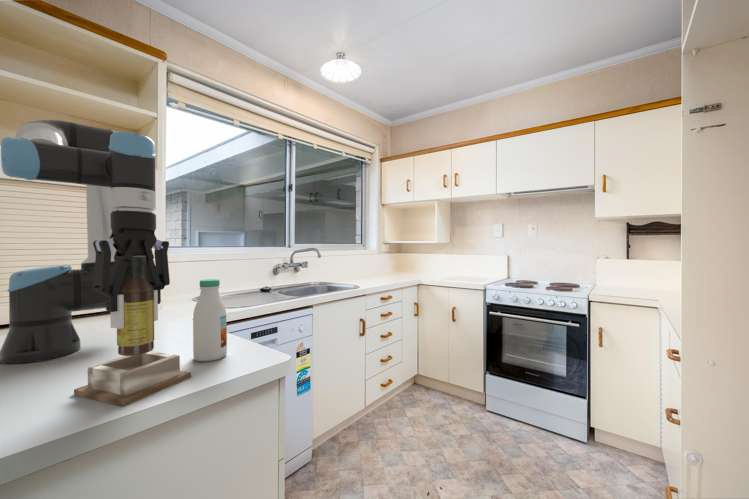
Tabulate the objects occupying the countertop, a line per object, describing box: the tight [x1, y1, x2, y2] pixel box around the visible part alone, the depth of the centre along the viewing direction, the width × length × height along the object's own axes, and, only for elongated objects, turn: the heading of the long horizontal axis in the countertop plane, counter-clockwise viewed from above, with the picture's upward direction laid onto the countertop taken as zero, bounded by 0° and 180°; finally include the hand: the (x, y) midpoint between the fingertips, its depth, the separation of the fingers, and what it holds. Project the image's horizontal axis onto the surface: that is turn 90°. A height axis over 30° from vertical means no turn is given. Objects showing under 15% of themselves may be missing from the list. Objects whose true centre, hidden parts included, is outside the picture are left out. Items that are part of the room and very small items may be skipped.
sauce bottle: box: [116, 256, 155, 357], centre depth 67 cm, size 6×6×20 cm
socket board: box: [73, 350, 192, 407], centre depth 67 cm, size 14×14×5 cm
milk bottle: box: [192, 278, 228, 362], centre depth 84 cm, size 8×8×20 cm
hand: (135, 323), depth 67 cm, fingers closed on sauce bottle, 6 cm apart
